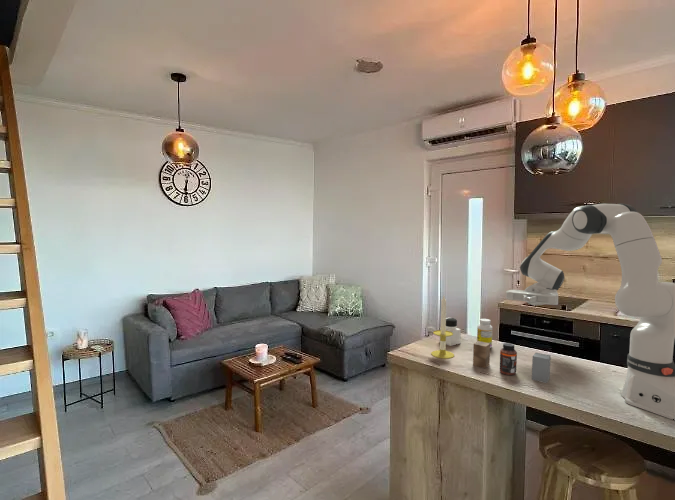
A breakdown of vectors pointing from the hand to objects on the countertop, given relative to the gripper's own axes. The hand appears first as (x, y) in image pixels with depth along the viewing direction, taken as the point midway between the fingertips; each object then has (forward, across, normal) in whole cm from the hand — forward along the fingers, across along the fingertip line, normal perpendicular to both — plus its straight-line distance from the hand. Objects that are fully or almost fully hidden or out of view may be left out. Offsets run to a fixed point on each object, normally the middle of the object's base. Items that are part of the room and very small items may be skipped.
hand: (527, 299), depth 160 cm
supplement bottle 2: (+16, -3, +27) cm, 32 cm away
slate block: (+15, +9, +27) cm, 32 cm away
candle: (+13, -31, +27) cm, 43 cm away
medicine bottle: (-5, -35, +26) cm, 44 cm away
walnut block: (+15, -13, +27) cm, 33 cm away
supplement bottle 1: (-10, -20, +26) cm, 35 cm away
